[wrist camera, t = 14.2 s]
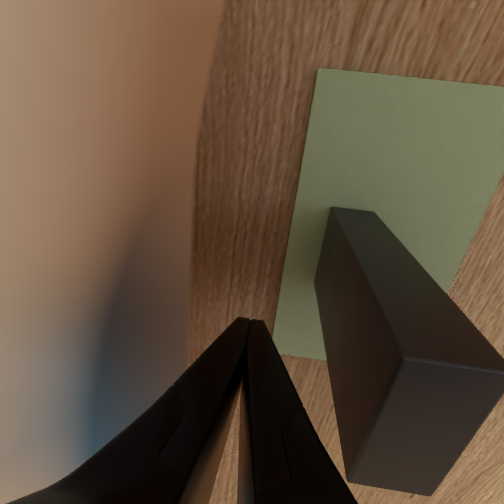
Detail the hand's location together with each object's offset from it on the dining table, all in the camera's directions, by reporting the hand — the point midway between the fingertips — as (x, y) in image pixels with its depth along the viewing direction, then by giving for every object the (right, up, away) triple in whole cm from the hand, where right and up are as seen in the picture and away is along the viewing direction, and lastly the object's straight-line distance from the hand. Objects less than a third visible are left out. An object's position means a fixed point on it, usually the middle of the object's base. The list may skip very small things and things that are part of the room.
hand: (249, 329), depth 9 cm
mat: (+6, +3, +7) cm, 10 cm away
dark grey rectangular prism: (+5, +3, +6) cm, 8 cm away
